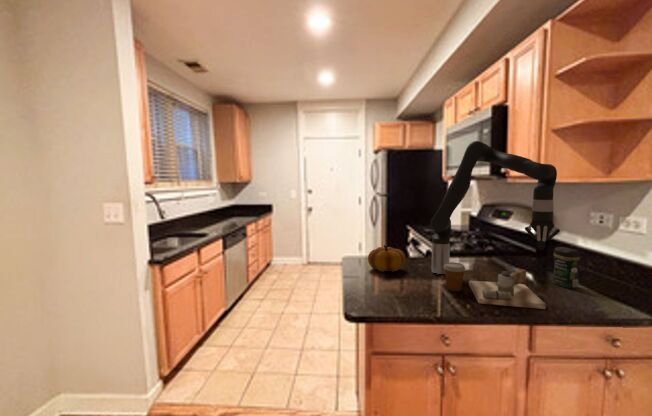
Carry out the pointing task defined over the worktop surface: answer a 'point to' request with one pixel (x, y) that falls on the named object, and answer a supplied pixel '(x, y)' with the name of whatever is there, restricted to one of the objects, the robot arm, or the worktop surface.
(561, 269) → the coffee jar
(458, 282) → the disposable coffee cup
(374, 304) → the worktop surface
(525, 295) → the level stand
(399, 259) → the decorative pumpkin
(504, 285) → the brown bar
